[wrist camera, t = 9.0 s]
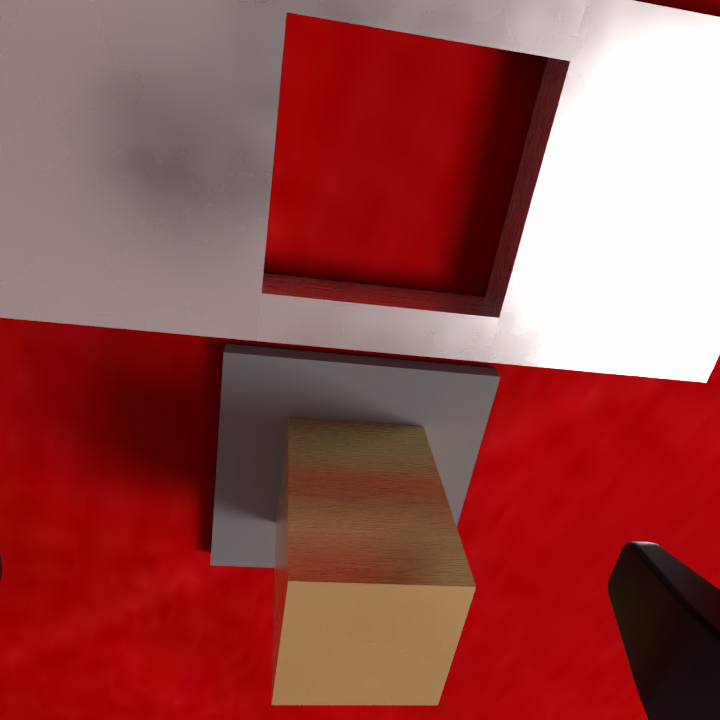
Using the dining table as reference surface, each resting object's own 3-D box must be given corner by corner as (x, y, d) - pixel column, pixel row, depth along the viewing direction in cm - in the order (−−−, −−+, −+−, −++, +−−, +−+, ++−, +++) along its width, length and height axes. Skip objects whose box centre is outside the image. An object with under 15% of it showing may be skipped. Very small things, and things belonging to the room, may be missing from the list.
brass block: (423, 426, 22) (476, 587, 16) (399, 528, 24) (438, 705, 18) (288, 416, 21) (288, 581, 15) (275, 522, 23) (271, 704, 17)
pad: (495, 367, 22) (500, 376, 21) (439, 562, 26) (443, 573, 25) (225, 343, 20) (223, 352, 20) (211, 553, 24) (210, 565, 24)
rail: (817, 41, 18) (862, 44, 16) (679, 359, 22) (706, 382, 21) (-45, -123, 14) (-81, -137, 13) (2, 292, 19) (-21, 315, 17)
